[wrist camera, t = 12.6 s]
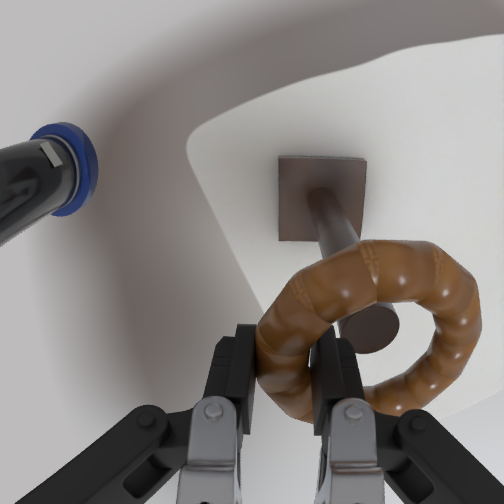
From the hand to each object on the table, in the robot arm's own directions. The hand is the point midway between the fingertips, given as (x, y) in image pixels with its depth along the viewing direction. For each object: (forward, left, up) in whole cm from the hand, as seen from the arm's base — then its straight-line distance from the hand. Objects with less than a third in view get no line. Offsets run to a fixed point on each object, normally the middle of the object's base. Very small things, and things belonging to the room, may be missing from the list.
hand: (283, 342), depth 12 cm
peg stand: (+4, 0, -20) cm, 20 cm away
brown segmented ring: (+4, 0, +1) cm, 4 cm away
